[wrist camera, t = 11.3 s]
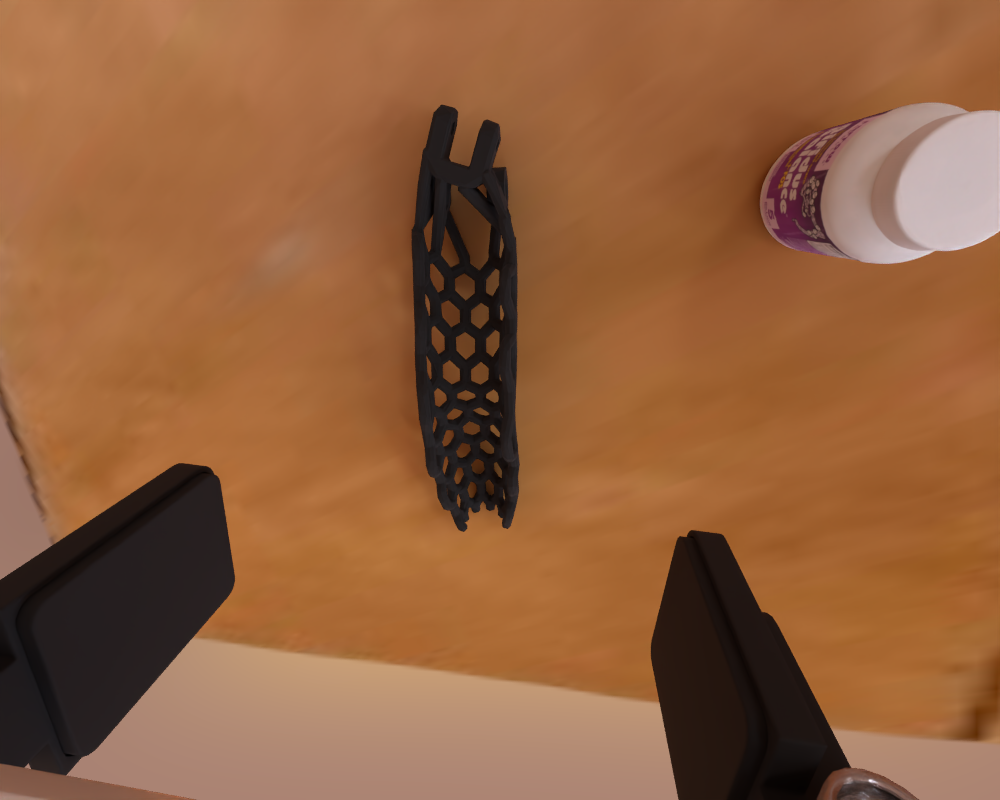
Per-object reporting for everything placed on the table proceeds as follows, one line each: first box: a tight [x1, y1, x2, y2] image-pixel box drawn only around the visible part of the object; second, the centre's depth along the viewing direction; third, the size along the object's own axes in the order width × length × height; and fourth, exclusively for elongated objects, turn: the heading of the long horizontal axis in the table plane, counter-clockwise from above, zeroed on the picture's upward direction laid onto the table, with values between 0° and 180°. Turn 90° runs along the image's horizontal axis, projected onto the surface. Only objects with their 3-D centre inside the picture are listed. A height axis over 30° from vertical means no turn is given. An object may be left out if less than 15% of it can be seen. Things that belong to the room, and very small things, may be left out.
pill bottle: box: [760, 103, 1000, 264], centre depth 19 cm, size 5×5×10 cm
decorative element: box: [412, 105, 520, 532], centre depth 26 cm, size 22×5×6 cm, turn 3°
